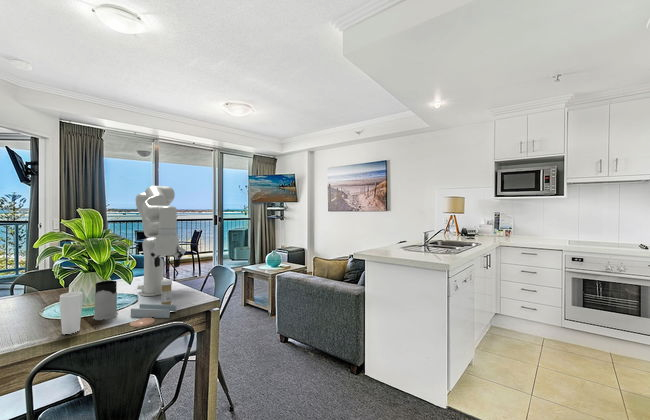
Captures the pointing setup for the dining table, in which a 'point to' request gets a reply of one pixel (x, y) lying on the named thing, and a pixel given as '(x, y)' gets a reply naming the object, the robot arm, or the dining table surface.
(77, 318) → the drinking glass
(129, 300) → the dining table surface
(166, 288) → the sprinkles bottle
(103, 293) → the glass holder
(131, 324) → the resting disc
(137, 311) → the acrylic walls
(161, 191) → the robot arm
